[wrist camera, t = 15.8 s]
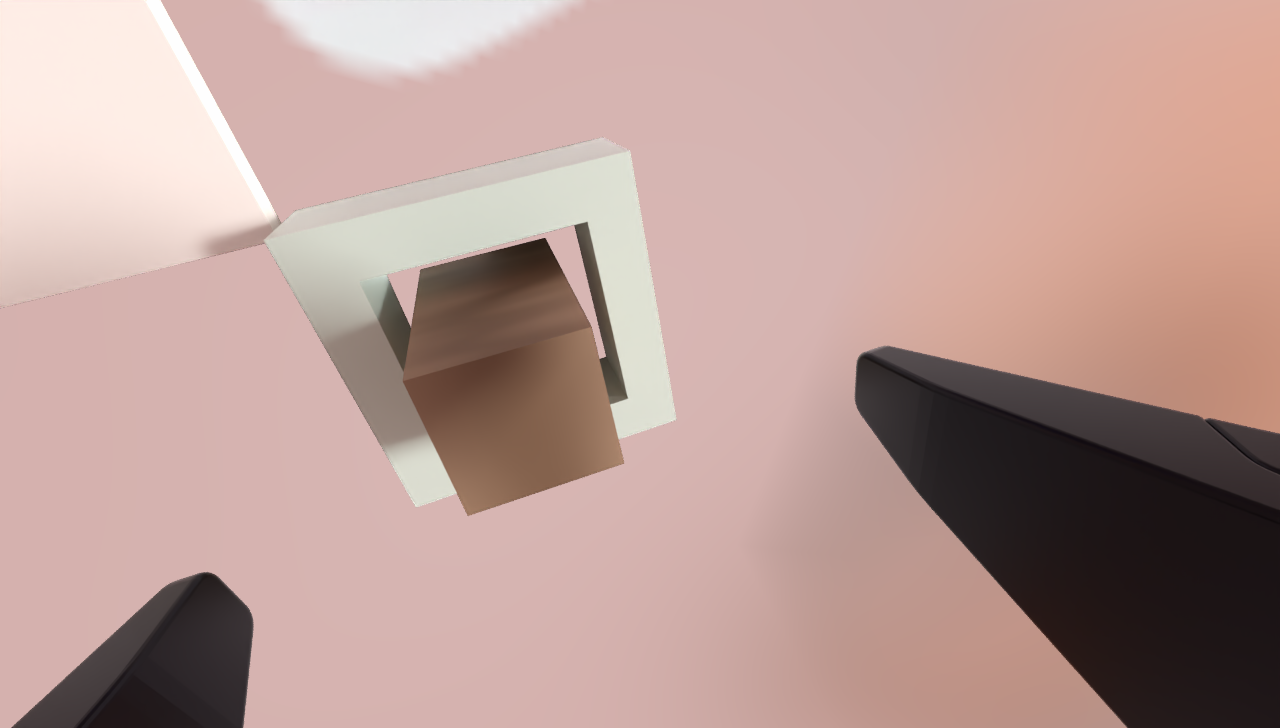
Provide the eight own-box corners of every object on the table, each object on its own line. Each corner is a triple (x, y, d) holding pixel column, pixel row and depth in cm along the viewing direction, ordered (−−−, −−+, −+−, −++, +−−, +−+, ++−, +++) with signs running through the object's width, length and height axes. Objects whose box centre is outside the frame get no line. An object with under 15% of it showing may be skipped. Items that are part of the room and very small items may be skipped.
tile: (79, -148, 11) (55, -162, 10) (286, 232, 15) (278, 239, 14) (-419, -85, 10) (-485, -96, 9) (-40, 311, 14) (-65, 324, 13)
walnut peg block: (545, 237, 17) (591, 326, 11) (573, 343, 19) (624, 463, 14) (420, 269, 17) (402, 381, 11) (463, 374, 19) (468, 515, 13)
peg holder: (603, 137, 16) (629, 150, 14) (650, 377, 21) (676, 419, 19) (295, 210, 15) (263, 240, 12) (420, 450, 20) (415, 507, 17)
